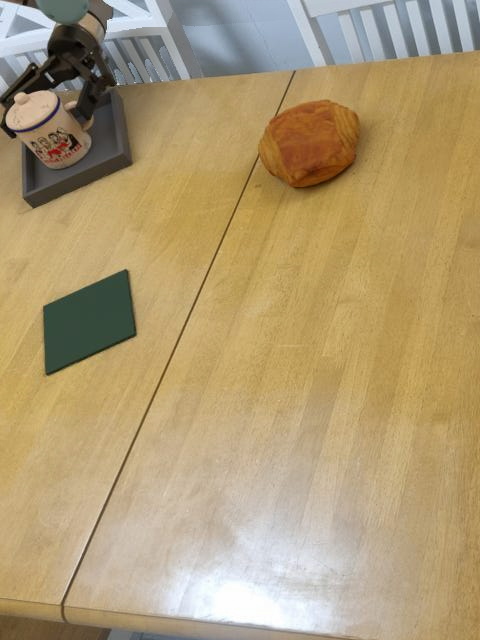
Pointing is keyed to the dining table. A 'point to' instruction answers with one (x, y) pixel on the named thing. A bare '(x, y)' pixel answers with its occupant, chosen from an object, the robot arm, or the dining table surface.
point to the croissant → (310, 142)
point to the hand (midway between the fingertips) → (45, 123)
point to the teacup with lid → (49, 128)
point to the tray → (99, 161)
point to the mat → (88, 321)
